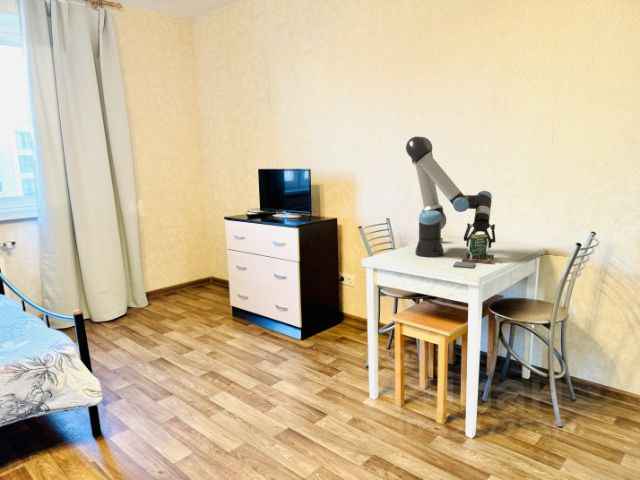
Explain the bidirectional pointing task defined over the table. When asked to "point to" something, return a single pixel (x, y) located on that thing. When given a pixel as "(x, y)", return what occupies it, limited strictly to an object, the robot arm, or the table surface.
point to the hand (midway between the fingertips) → (477, 252)
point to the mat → (464, 264)
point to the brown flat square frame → (477, 259)
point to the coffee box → (478, 247)
